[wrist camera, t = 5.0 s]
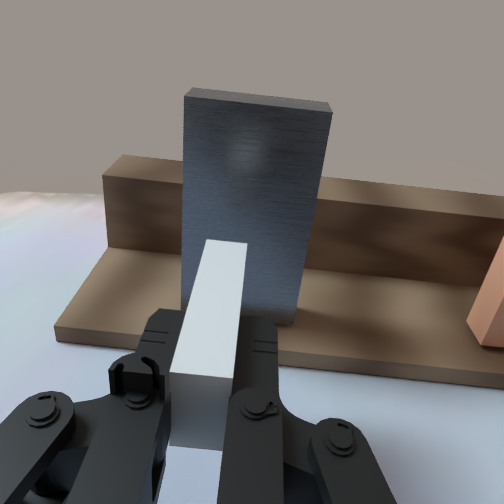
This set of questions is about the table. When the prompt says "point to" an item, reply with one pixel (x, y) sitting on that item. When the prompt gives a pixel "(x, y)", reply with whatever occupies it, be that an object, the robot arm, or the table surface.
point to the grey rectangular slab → (252, 190)
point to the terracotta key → (490, 305)
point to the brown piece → (316, 275)
